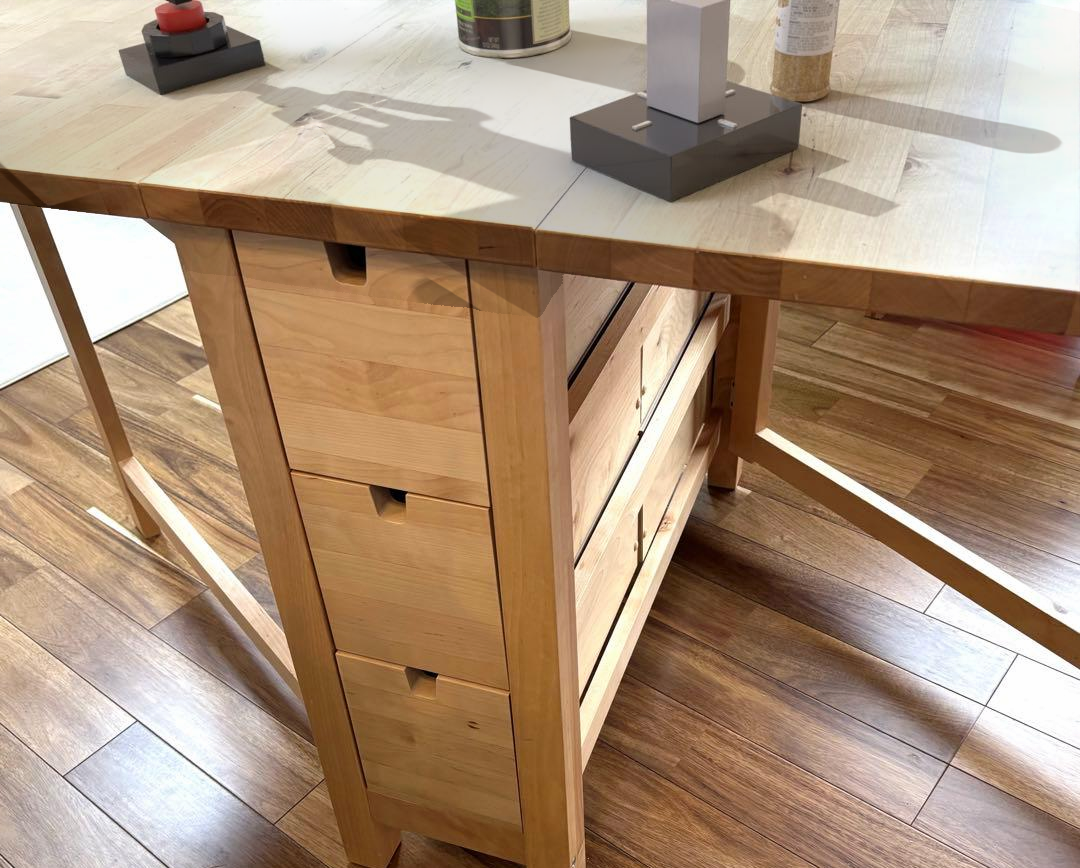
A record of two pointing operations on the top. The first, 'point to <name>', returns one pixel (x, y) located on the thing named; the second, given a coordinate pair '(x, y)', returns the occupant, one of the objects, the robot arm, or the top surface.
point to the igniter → (190, 55)
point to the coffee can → (512, 27)
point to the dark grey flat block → (684, 141)
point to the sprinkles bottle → (804, 48)
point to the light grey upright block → (687, 57)
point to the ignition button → (180, 16)
